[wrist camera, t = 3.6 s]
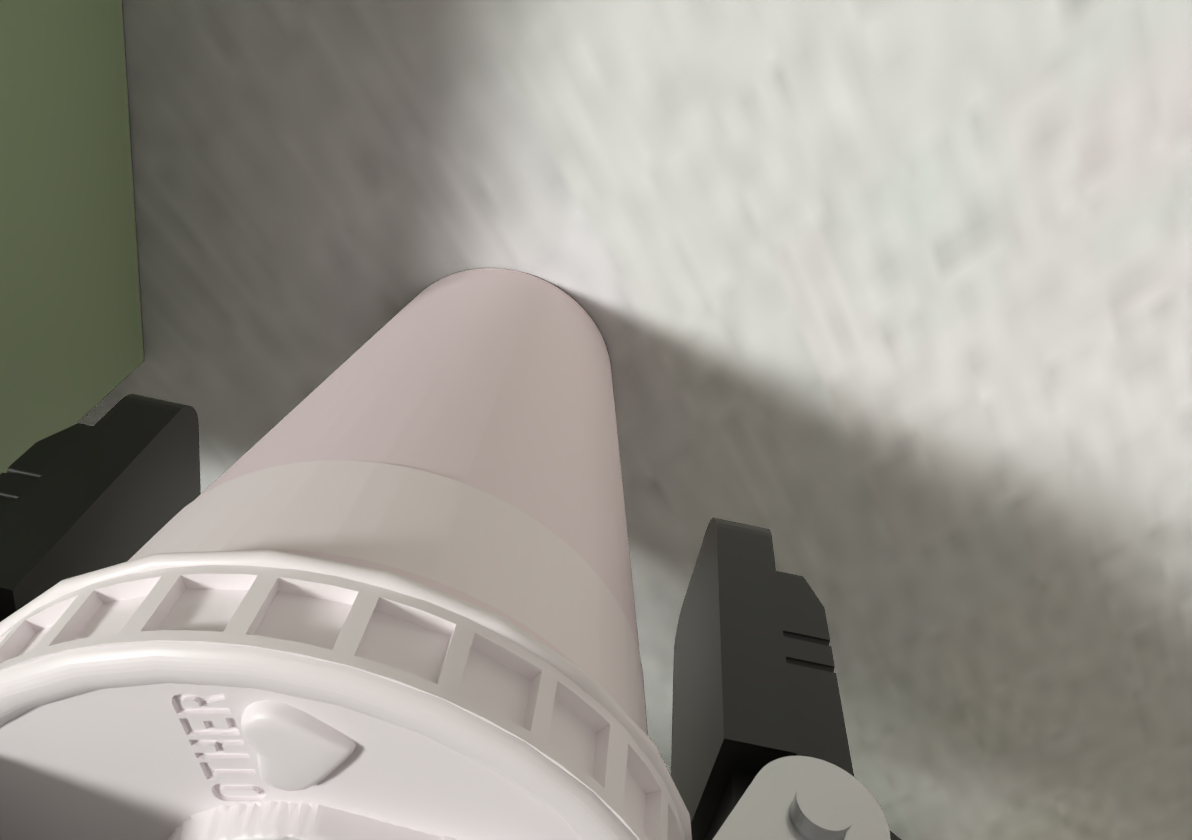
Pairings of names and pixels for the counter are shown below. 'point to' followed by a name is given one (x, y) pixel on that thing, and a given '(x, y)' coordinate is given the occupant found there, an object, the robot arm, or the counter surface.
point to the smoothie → (367, 615)
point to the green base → (64, 217)
